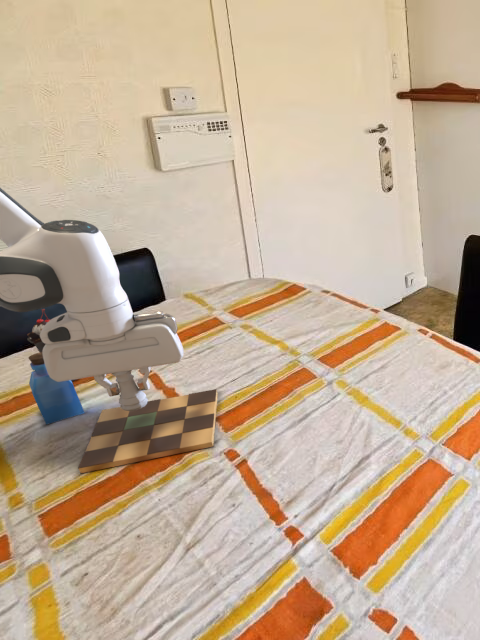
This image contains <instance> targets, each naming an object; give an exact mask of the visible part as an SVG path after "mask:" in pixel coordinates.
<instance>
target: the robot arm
mask: <svg viewBox="0 0 480 640" xmlns="http://www.w3.org/2000/svg"><path fill="white" fill-rule="evenodd" d="M0 241H1V242H3V243H4V244H5V245H6V248H4V249H2V250H0V307H1V308H2V309H5V310H8V311H12V312H17V313H27V312H33V311H37V310H42V309H45V308H49V307H52V306H54V305H58V304H61V305H63V306H64V308H65V310H66V312H64V313H62V314H59V315H57V316H55V317H53V318H51V319H50V321H49V322H48V323H47V324H46V325H45V326H44V327H43V329H42V330H41V332H40V338H41V340H42V342H43V343H45V346H44V348H43V352H42V354H43V359H44V363H45V366H46V369H47V372H48V374H49V376H50V378H51V379H53V380H55V381H57V382H62V381H68V380H74V379H76V380H79V379H85V378H92V377H93V378H94V379H93V380H94V382H95V383H97V384H98V385H99V386H101V387H102V388H104V389H106V391H107V394H108V396H109V398H111V397H116V396H120V388H119V384H118V382H111V380H109V379H108V378H107V377H106V376H107V375H110V374H111V373H117V372H123V371H129V370H132V371H135V370H139V373H140V374H143V377H142V378H138V379H137V382H136V385H137V387H138V388H139V391H142V392H145V391H149V390H150V388H151V384H150V381H149V376H150V373H151V369H152V368H153V367H154V368H155V367H159V366H166V365H171V364H172V365H173V364H177V363H179V362H181V360H182V359H183V357H184V355H185V350H184V345H183V344H182V341H181V339H180V337H179V335H178V330H179V328H178V324H177V321H176V319H175V317H174V316H173V315H171V314H169V313H167V312H166V313H165V312H164V311H154V312H150V313H137V314H134V312H133V309H132V306H131V303H130V300H129V297H128V295H127V293H126V291H125V290H124V289H123V287H122V285H121V282H120V271H119V268H118V265H117V262H116V259H115V257H114V255H113V252H112V250H111V248H110V245H109V243H108V241H107V239H106V237H105V236H104V233H102V231H101V230H100V229H99V228H98V227H97V226H96V225H94V224H92V223H89V222H87V221H83V220H78V219H77V220H76V219H63V220H61V219H60V220H51V221H47V222H45V223H44V222H43V221H42V220H41V219H39V218H38V217H36V216H35V215H34V214H32V213H31V212H30V211H29V210H28V209H26V208H25V207H24V206H23V205H22V204H21V203H19V202H18V201H17V200H16V199H15V198H13V197H12V196H11V195H10V194H8V192H6V191H5V190H4V189H3V188H2V187H0ZM111 375H112V374H111ZM74 381H75V380H74Z"/></svg>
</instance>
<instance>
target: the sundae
mask: <svg viewBox="0 0 480 640" xmlns="http://www.w3.org/2000/svg"><path fill="white" fill-rule="evenodd" d="M45 311H46V309H45V308H42V309H41V313H42V314H41V316H40V317H39V318H38V319H37V320H36V323H35V324H34V325H33V327H32V330H31V331H30V332H29V333H26V336H28V337H27V341H28V342H30V343H31V344H33V345H34V346H35V348H36V349H37V350H38V353H40V352H43V348H44V346H45V343H43V342H42V340H41V338H40V332H41V330H42V329H43V327H44V326H45V325H46V324H47V323H48V322H49V321H50V320H51V319H50V318H48V316H47V314H46V312H45ZM43 315H44V316H45V320H44V319H42V318H43ZM71 381H72V382H74V381H77V379H74V380H71Z"/></svg>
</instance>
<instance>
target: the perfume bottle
mask: <svg viewBox="0 0 480 640" xmlns="http://www.w3.org/2000/svg"><path fill="white" fill-rule="evenodd" d="M28 360H29V361H30V363H29V365H30V368H31V370H32V371H31V373H30V377H29V382H28V384H29V387H30V390H31V393H32V396H33V398H34V401H35V403H36V405H37V407H38V410H39V412H40V414H41V416H42V418H43V421H44V423H45V425H46V426H47V425H50V424H53V423H56V422H59V421H62V420H66V419H69V418H72V417H76V416H80V415H82V414H83V415H84V414H85V410H84V408H83V405H82V403H81V400H80V397H79V396H78V393H77V390H76V388H75V386H74V383H73V381H71V380H68V381H62V382H57V381H55V380H53V379H51V378H50V376H49V374H48V372H47V369H46V366H45V363H44V359H43V354H42V352H36V353H33V354H31V355H29V356H28Z"/></svg>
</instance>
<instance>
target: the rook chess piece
mask: <svg viewBox="0 0 480 640" xmlns="http://www.w3.org/2000/svg"><path fill="white" fill-rule="evenodd" d="M132 371H133V370H129V371H123V372H117V373H111V375H112V376H114V377H115V383H118V387H119V388H120V393H119V394H120V395H119V399H118V404H119V405H120V406H119V407H120V408H122V409H123V410H125V411H134V410H138V409H140V408H142V407H144V406H145V405H146V404H147V402H148V401H149V398H148V397H147V394H146V393H145V391H139V387H138V385H137V382H136V381H135V379H134V378H135V377H134V374H132Z"/></svg>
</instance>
